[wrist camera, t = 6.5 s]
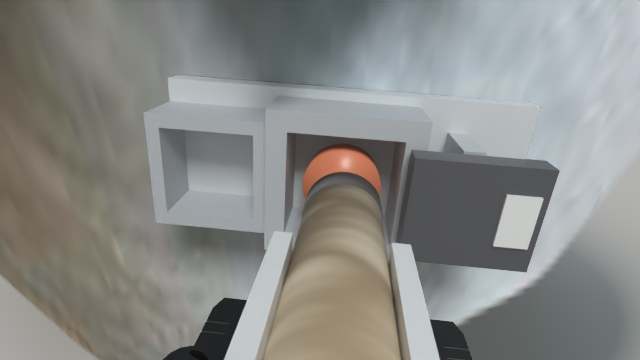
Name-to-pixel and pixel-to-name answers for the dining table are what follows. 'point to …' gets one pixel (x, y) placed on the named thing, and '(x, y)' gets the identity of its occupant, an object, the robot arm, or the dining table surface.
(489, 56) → the dining table surface
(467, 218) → the plate
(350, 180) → the tan banded rod
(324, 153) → the orange round button
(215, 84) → the grey slotted holder
